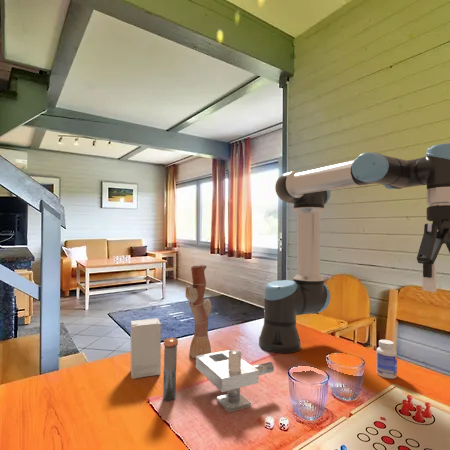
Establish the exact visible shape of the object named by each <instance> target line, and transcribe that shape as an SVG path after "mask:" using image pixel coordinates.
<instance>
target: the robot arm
mask: <svg viewBox="0 0 450 450" xmlns="http://www.w3.org/2000/svg"><path fill="white" fill-rule="evenodd" d="M372 184H374V185H375V184H377V185H382V186H384V187H385V188H386V189H387V190H400V189H401V190H402V189H405V188H411V187H418V186H426V205H427V208H426V220H427V221H428V222H432V223H425V224H424V225H423V227H424V230H423V235H422V239H421V241H420V245H419V249H418V251H417V256H416V260H417V263H418V264H422V291H425V292H430V293H431V292H432V293H437V264H435V262H436V259H437V257H438V256H439V253H440V250H441V248H442V246H443V245H444V244H445V245H446V248H447V250H448V253H449V254H450V143H449V142H448V143H445V142H444V143H438V144H435V145H432V146H430V147H429V146H428V148H427V149H426V153H425V156H423V157H419V158H413V159H402V158H398V157H393V156H389V155H384V154H381V153H377V152H369V151H368V152H367V151H366V152H363V153H361V154H359V155H358V156H357V157H356V158H355V159H352V160H347V161H344V162H339V163H335V164H331V165H327V166H323V167H319V168H315V169H309V170H306V171H298V170H293V171H287V172H285V173H283V174H281V175H280V176H279V177H278V178H277V180H276V182H275V188H274V190H275V193H276V195H277V197H278V198H279V199H280V200H281V201H283V202H285V203H288V204H293V210H294V211H295V213H296V214H297V245H296V246H297V247H296V248H297V249H296V250H297V253H296V254H297V255H296V256H297V257H296V258H297V264H296V265H297V267H296V271H297V273H296V275H294V277H293V278H292V279H293V280H289V279H283V280H274V281H270V282H268V283H267V284H265V286H264V294H263V297H264V300H263V301H264V303H263V305H264V307H263V310H264V311H263V312H264V313H263V314H264V315H263V326H262V327H261V328H262V329H261V332H260V335H259V337H258V345H259V348H261V349H263V350H266V351H268V352H271V353H276V354H277V353H278V354H291V353H296V352H299V351H300V350H301V348H302V347H301V339H300V335H299V331H298V328H297V316H302V315H310V314H312V315H313V314H317V313H321V312H324V311H326V309H327V308H328V306H329V305H330V301H331V292H330V289H329V287H328V285H327V284H326V283H325V279H324V278H323V276H322V275H321V269H320V268H321V257H320V256H321V214H322V212H324V209H325V205H326V204H328V202H329V200H330V199H331V193H332V192H331V191H332V190H339V189H345V188H352V187H358V186H367V185H372Z"/></svg>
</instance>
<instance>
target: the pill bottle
mask: <svg viewBox="0 0 450 450" xmlns="http://www.w3.org/2000/svg"><path fill="white" fill-rule="evenodd" d="M375 351H376V352H375V353H376V374H377V375H378V376H379V377H382V378H385V379H396V378H397V376H398V353H397V350H396V349H395V342H394V341H392V340H388V339H380V340H378V347H377V348H376V350H375Z"/></svg>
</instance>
